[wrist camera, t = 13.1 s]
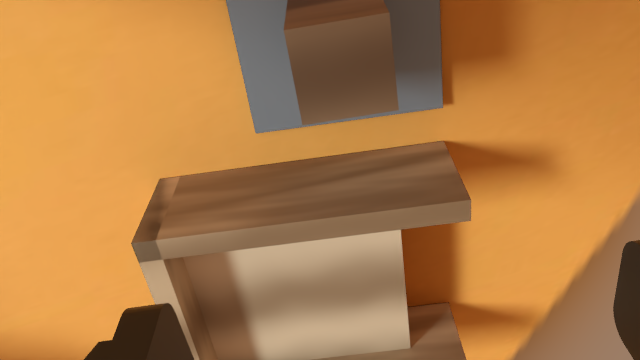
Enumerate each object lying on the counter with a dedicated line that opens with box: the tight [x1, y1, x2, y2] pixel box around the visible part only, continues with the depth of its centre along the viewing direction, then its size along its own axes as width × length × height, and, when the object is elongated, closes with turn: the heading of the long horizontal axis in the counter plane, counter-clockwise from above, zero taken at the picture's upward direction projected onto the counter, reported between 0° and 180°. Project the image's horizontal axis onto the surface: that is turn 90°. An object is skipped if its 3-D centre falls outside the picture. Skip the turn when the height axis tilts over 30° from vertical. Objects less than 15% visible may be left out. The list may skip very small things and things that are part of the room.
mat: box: [226, 0, 443, 133], centre depth 27 cm, size 10×10×1 cm
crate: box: [131, 141, 471, 360], centre depth 32 cm, size 13×16×6 cm
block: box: [284, 0, 399, 125], centre depth 24 cm, size 4×4×6 cm
